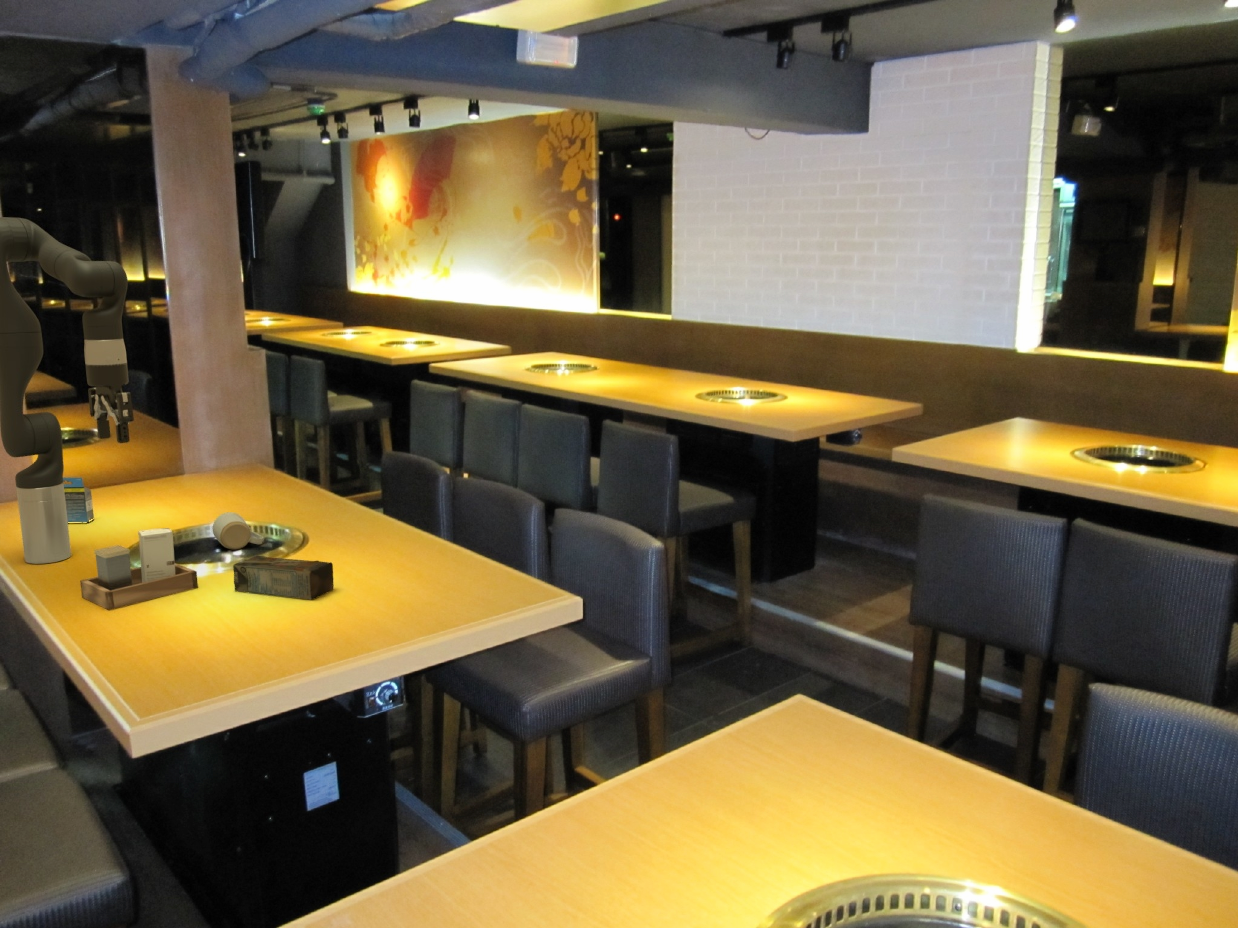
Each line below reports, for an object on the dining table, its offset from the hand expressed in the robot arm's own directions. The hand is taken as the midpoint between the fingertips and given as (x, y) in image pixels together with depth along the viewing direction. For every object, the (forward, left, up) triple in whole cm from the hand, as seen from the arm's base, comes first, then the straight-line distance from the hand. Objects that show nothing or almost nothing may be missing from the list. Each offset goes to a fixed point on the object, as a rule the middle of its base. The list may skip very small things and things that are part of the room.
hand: (113, 440), depth 205 cm
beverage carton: (+31, +18, -31) cm, 47 cm away
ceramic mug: (-7, +30, -30) cm, 43 cm away
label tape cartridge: (-60, +14, -30) cm, 69 cm away
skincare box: (+10, +2, -30) cm, 32 cm away
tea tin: (+10, -7, -30) cm, 32 cm away
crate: (+10, -2, -30) cm, 32 cm away
